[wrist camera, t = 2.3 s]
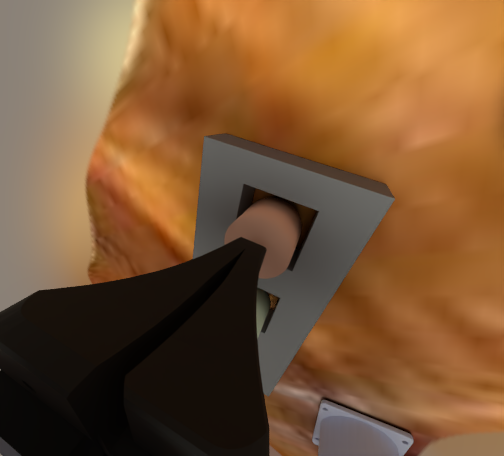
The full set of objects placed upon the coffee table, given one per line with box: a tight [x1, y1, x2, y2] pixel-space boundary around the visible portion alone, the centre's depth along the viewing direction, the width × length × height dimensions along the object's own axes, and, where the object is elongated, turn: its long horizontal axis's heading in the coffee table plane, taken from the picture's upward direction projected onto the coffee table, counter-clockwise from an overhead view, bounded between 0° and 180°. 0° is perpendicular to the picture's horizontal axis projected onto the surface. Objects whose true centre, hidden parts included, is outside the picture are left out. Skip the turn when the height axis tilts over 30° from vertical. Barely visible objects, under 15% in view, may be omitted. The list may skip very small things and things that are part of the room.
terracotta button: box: [224, 197, 302, 279], centre depth 12 cm, size 4×4×3 cm
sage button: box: [256, 287, 271, 339], centre depth 16 cm, size 4×4×3 cm
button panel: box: [193, 134, 395, 396], centre depth 17 cm, size 22×10×2 cm, turn 166°
